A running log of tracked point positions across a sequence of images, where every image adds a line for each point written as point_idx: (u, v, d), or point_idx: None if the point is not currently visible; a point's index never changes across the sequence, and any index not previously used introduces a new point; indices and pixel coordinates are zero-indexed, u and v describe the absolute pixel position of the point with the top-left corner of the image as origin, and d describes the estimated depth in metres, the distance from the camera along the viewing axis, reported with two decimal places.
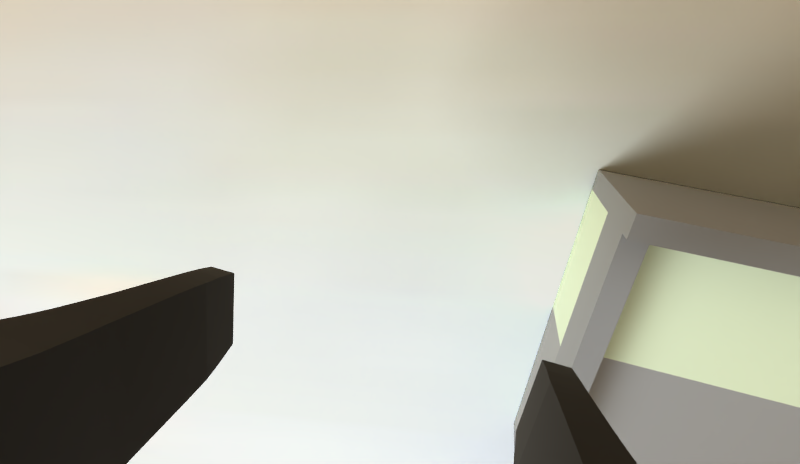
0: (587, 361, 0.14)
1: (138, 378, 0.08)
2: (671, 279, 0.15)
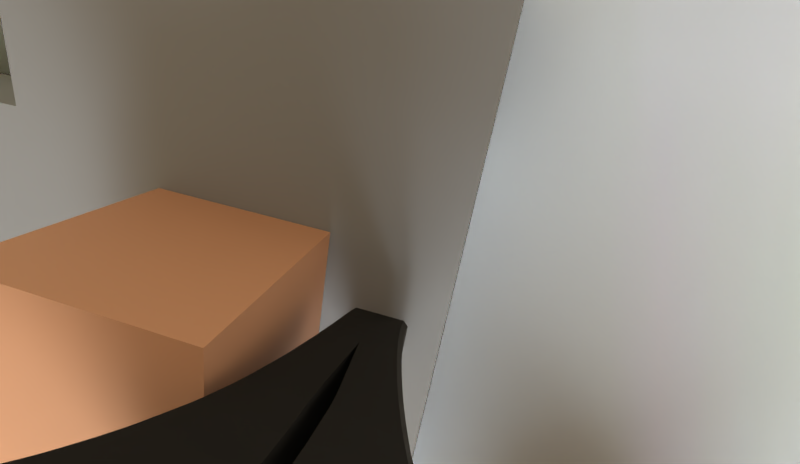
0: None
1: None
2: None
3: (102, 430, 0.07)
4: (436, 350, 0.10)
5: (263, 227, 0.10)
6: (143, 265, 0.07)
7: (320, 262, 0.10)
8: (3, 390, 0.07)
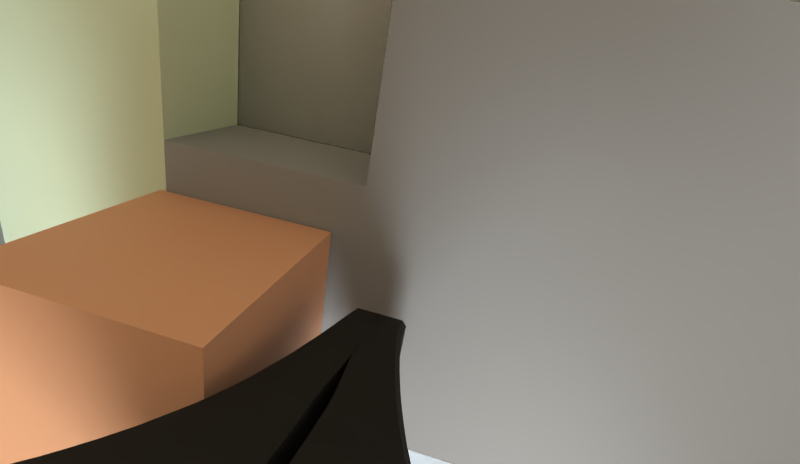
0: None
1: None
2: None
3: (103, 431, 0.07)
4: None
5: (264, 227, 0.10)
6: (144, 266, 0.07)
7: (322, 262, 0.10)
8: (6, 392, 0.07)
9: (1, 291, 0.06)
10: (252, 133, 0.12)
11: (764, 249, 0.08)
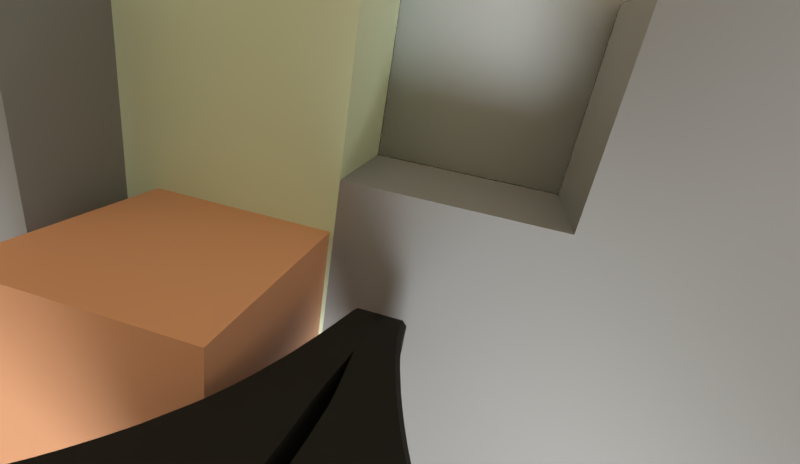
0: None
1: None
2: None
3: (101, 430, 0.07)
4: None
5: (263, 227, 0.10)
6: (144, 265, 0.07)
7: (320, 261, 0.10)
8: (3, 391, 0.07)
9: None
10: (403, 166, 0.11)
11: None
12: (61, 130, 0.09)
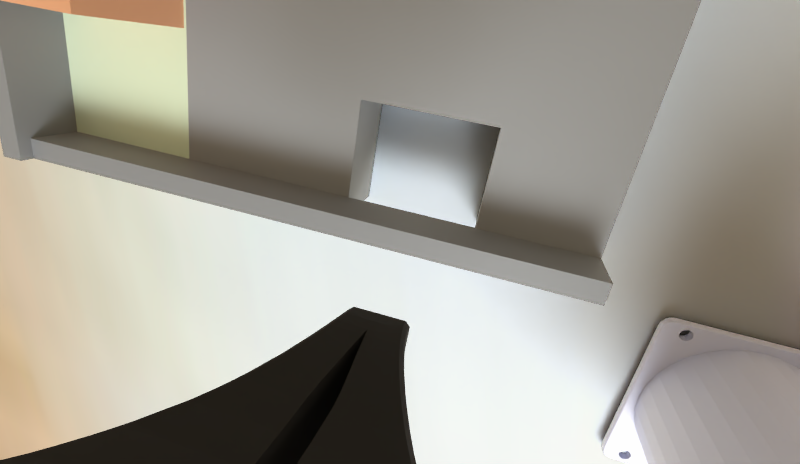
0: (131, 173, 0.16)
1: None
2: (109, 95, 0.18)
3: None
4: (682, 43, 0.13)
5: None
6: None
7: None
8: None
9: None
10: None
11: None
12: None
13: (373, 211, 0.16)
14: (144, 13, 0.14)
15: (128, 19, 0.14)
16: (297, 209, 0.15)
